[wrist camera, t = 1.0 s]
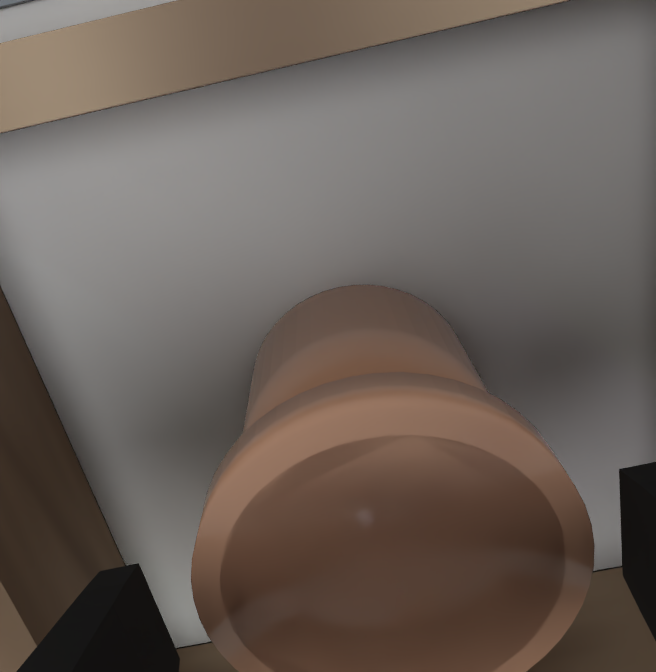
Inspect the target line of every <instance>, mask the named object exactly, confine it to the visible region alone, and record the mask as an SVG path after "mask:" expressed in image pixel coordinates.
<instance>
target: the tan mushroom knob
mask: <svg viewBox="0 0 656 672" xmlns="http://www.w3.org/2000/svg"><path fill="white" fill-rule="evenodd" d="M593 566H594V539H593V532H592V525H591V522H590V519H589V516H588V513H587V510H586V507H585V504H584V502H583V500H582V498H581V497H580V495H579V493H578V491H577V489H576V487H575V485H574V484H573V482H572V481H571V479H570V478H569V476H568V474H567V473H566V471H565V470H564V468H563V467H562V465H561V464H560V462H559V460H558V459H557V457H556V456H555V454H554V453H553V451H552V449H551V448H550V446H549V445H548V443H547V442H546V441H545V440H544V438H543V437H542V436H541V434H540V433H539V432H538V430H537V429H536V428H535V427H534V426H533V425H532V424H531V423H530V422H529V421H528V420H527V419H526V418H525V417H524V416H523V415H521V414H520V413H519V412H518V411H517V410H515V409H514V408H512V407H511V406H509V405H508V404H507V403H505V402H504V401H502V400H501V399H499V398H497V397H495V396H493V395H491V394H489V393H488V391H487V389H486V388H485V386H484V384H483V382H482V380H481V379H480V377H479V375H478V373H477V371H476V370H475V368H474V366H473V364H472V363H471V361H470V359H469V357H468V355H467V354H466V352H465V350H464V348H463V346H462V345H461V343H460V341H459V339H458V337H457V336H456V334H455V332H454V330H453V329H452V328H451V326H450V325H449V324H448V322H447V321H446V320H445V319H444V318H443V317H442V316H441V315H440V314H439V313H438V312H437V311H436V310H435V309H434V308H432V307H431V306H430V305H428V304H427V303H425V302H424V301H422V300H420V299H418V298H417V297H415V296H413V295H411V294H408V293H406V292H403V291H400V290H397V289H393V288H389V287H384V286H376V285H351V286H344V287H338V288H334V289H331V290H327V291H324V292H321V293H319V294H316V295H314V296H312V297H310V298H308V299H306V300H304V301H303V302H301V303H299V304H297V305H296V306H295V307H293V308H292V309H291V310H290V311H288V312H287V313H286V314H285V315H284V316H283V317H282V318H281V319H280V320H279V321H278V322H277V323H276V324H275V325H274V326H273V328H272V329H271V330H270V332H269V333H268V334H267V336H266V338H265V339H264V341H263V343H262V345H261V347H260V349H259V352H258V355H257V357H256V361H255V365H254V369H253V375H252V380H251V386H250V392H249V398H248V404H247V410H246V416H245V422H244V428H243V433H242V435H241V436H240V437H239V438H238V439H237V441H236V442H235V443H234V444H233V446H232V447H231V448H230V449H229V451H228V452H227V453H226V454H225V456H224V458H223V460H222V461H221V463H220V465H219V466H218V468H217V470H216V472H215V473H214V476H213V478H212V481H211V484H210V486H209V489H208V491H207V494H206V499H205V503H204V508H203V512H202V516H201V521H200V525H199V529H198V534H197V538H196V543H195V547H194V552H193V557H192V570H191V583H192V591H193V598H194V602H195V606H196V609H197V612H198V615H199V619H200V621H201V623H202V625H203V627H204V629H205V631H206V633H207V635H208V637H209V638H210V640H211V641H212V642H213V644H214V645H215V647H216V648H217V649H218V651H219V652H220V653H221V655H222V656H223V657H224V658H225V659H226V660H227V661H228V662H229V663H230V664H231V665H232V666H233V667H234V668H235V669H236V670H237V671H239V672H526V671H528V670H529V669H530V668H531V667H532V666H534V665H535V664H536V663H537V662H538V661H540V660H541V659H542V658H543V657H544V656H545V655H546V654H547V653H548V652H549V651H550V650H551V649H552V648H553V647H554V646H555V645H556V644H557V643H558V642H559V641H560V639H561V638H562V637H563V635H564V634H565V633H566V631H567V630H568V629H569V627H570V626H571V624H572V623H573V621H574V619H575V618H576V616H577V614H578V612H579V610H580V608H581V607H582V605H583V602H584V599H585V597H586V594H587V591H588V589H589V586H590V581H591V576H592V571H593Z"/></svg>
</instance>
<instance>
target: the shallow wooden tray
mask: <svg viewBox="0 0 656 672" xmlns="http://www.w3.org/2000/svg"><path fill="white" fill-rule="evenodd" d="M567 1H571V0H177V1H173V2H169V3H165V4H161V5H157V6H153V7H148V8H144V9H140V10H136V11H132V12H128V13H124V14H119V15H115V16H111V17H107V18H103V19H99V20H95V21H90V22H86V23H82V24H78V25H74V26H70V27H66V28H61V29H57V30H53V31H49V32H45V33H41V34H37V35H32V36H28V37H24V38H20V39H16V40H12V41H8V42H3V43H0V134H1V133H5V132H10V131H14V130H18V129H22V128H27V127H31V126H35V125H40V124H44V123H48V122H52V121H57V120H61V119H65V118H70V117H74V116H78V115H82V114H87V113H91V112H95V111H100V110H104V109H108V108H112V107H117V106H121V105H125V104H130V103H134V102H138V101H142V100H147V99H151V98H155V97H160V96H164V95H168V94H172V93H177V92H181V91H185V90H190V89H194V88H198V87H203V86H207V85H211V84H215V83H220V82H224V81H228V80H233V79H237V78H241V77H245V76H250V75H254V74H258V73H263V72H267V71H271V70H275V69H280V68H284V67H288V66H293V65H297V64H301V63H305V62H310V61H314V60H318V59H323V58H327V57H331V56H335V55H340V54H344V53H348V52H353V51H357V50H361V49H365V48H370V47H374V46H378V45H383V44H387V43H391V42H395V41H400V40H404V39H408V38H413V37H417V36H421V35H425V34H430V33H434V32H438V31H443V30H447V29H451V28H455V27H460V26H464V25H468V24H473V23H477V22H481V21H485V20H490V19H494V18H498V17H503V16H507V15H511V14H515V13H520V12H524V11H528V10H533V9H537V8H541V7H545V6H550V5H554V4H558V3H563V2H567ZM123 566H125V565H124V562H123V560H122V558H121V556H120V553H119V551H118V549H117V547H116V545H115V542H114V540H113V538H112V536H111V533H110V531H109V529H108V527H107V524H106V522H105V520H104V518H103V516H102V513H101V511H100V509H99V507H98V504H97V502H96V500H95V498H94V495H93V493H92V491H91V489H90V487H89V484H88V482H87V480H86V478H85V475H84V473H83V471H82V469H81V467H80V464H79V462H78V460H77V458H76V455H75V453H74V451H73V449H72V446H71V444H70V442H69V440H68V438H67V435H66V433H65V431H64V429H63V426H62V424H61V422H60V420H59V417H58V415H57V413H56V411H55V409H54V406H53V404H52V402H51V400H50V397H49V395H48V393H47V391H46V388H45V386H44V384H43V382H42V380H41V377H40V375H39V373H38V371H37V368H36V366H35V364H34V362H33V360H32V357H31V355H30V353H29V351H28V348H27V346H26V344H25V342H24V339H23V337H22V335H21V333H20V331H19V328H18V326H17V324H16V322H15V319H14V317H13V315H12V313H11V310H10V308H9V306H8V304H7V302H6V299H5V297H4V295H3V293H2V290H1V288H0V672H16V671H17V670H18V669H19V668H20V666H21V665H22V664H23V663H24V662H25V660H26V659H27V658H28V657H29V656H30V654H31V653H32V652H33V651H34V650H35V648H36V647H37V646H38V645H39V644H40V642H41V641H42V640H43V639H44V637H45V636H46V635H47V634H48V632H49V631H50V630H51V629H52V628H53V626H54V625H55V624H56V623H57V621H58V620H59V619H60V618H61V616H62V615H63V614H64V613H65V612H66V610H67V609H68V608H69V607H70V605H71V604H72V603H73V602H74V601H75V599H76V598H77V597H78V596H79V595H80V593H81V592H82V591H83V590H84V589H85V587H86V586H87V585H88V584H89V583H90V582H91V580H92V579H93V578H94V577H95V576H96V575H97V574H98V573H99V571H102V570H108V569H113V568H118V567H123ZM176 651H177V653H178V655H179V657H180V665H179V672H239V671H237V670H236V669H235V668H234V667H233V666H232V665H231V664H230V663H229V662H228V661H227V660H226V659H225V658H224V657H223V656H222V655H221V653H220V652H219V651H218V649H217V648H216V647H215V645H214V644H213V643H208V644H202V645H197V646H191V647H186V648H181V649H176ZM526 672H656V641H655V639H654V637H653V635H652V633H651V631H650V629H649V627H648V625H647V624H646V622H645V620H644V618H643V616H642V614H641V612H640V610H639V608H638V606H637V604H636V602H635V600H634V598H633V596H632V594H631V592H630V589H629V587H628V585H627V583H626V581H625V579H624V577H623V571H622V567H620V568H615V569H609V570H604V571H598V572H593V573H592V576H591V581H590V586H589V589H588V591H587V594H586V597H585V599H584V602H583V605H582V607H581V608H580V610H579V612H578V614H577V616H576V618H575V619H574V621H573V623H572V624H571V626H570V627H569V629H568V630H567V631H566V633H565V634H564V635H563V637H562V638H561V639H560V641H559V642H558V643H557V644H556V645H555V646H554V647H553V648H552V649H551V650H550V651H549V652H548V653H547V654H546V655H545V656H544V657H543V658H542V659H541V660H540V661H538V662H537V663H536V664H535V665H534V666H532V667H531V668H530V669H529V670H528V671H526Z"/></svg>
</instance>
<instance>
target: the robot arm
mask: <svg viewBox="0 0 656 672" xmlns="http://www.w3.org/2000/svg"><path fill="white" fill-rule="evenodd" d="M619 477H620V508H621V540H622V571H623V577H624V579H625V581H626V583H627V585H628V587H629V589H630V592H631V594H632V596H633V598H634V600H635V602H636V604H637V606H638V608H639V610H640V612H641V614H642V616H643V618H644V620H645V622H646V624H647V625H648V627H649V629H650V631H651V633H652V635H653V637H654V639H655V641H656V462H653V463H648V464H643V465H638V466H633V467H628V468H623V469H619ZM179 665H180V657H179V655H178V653H177V651H176V648H175V646H174V644H173V641H172V639H171V637H170V635H169V632H168V630H167V628H166V625H165V623H164V621H163V618H162V616H161V614H160V612H159V609H158V607H157V605H156V602H155V600H154V598H153V595H152V593H151V591H150V589H149V586H148V584H147V582H146V579H145V577H144V575H143V572H142V570H141V568H140V566H139V563H138V564H133V565H128V566H123V567H118V568H113V569H108V570H102V571H99V573H98V574H97V575H96V576H95V577H94V578H93V579H92V580H91V582H90V583H89V584H88V585H87V586H86V587H85V589H84V590H83V591H82V592H81V593H80V595H79V596H78V597H77V598H76V599H75V601H74V602H73V603H72V604H71V605H70V607H69V608H68V609H67V610H66V612H65V613H64V614H63V615H62V616H61V618H60V619H59V620H58V621H57V623H56V624H55V625H54V626H53V628H52V629H51V630H50V631H49V632H48V634H47V635H46V636H45V637H44V639H43V640H42V641H41V642H40V644H39V645H38V646H37V647H36V648H35V650H34V651H33V652H32V653H31V654H30V656H29V657H28V658H27V659H26V660H25V662H24V663H23V664H22V665H21V666H20V668H19V669H18V670H17V671H16V672H179Z"/></svg>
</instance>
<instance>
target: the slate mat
mask: <svg viewBox="0 0 656 672" xmlns="http://www.w3.org/2000/svg"><path fill="white" fill-rule="evenodd" d="M30 1H34V0H0V9H1V8H5V7H9V6H13V5H17V4H21V3H26V2H30Z"/></svg>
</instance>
